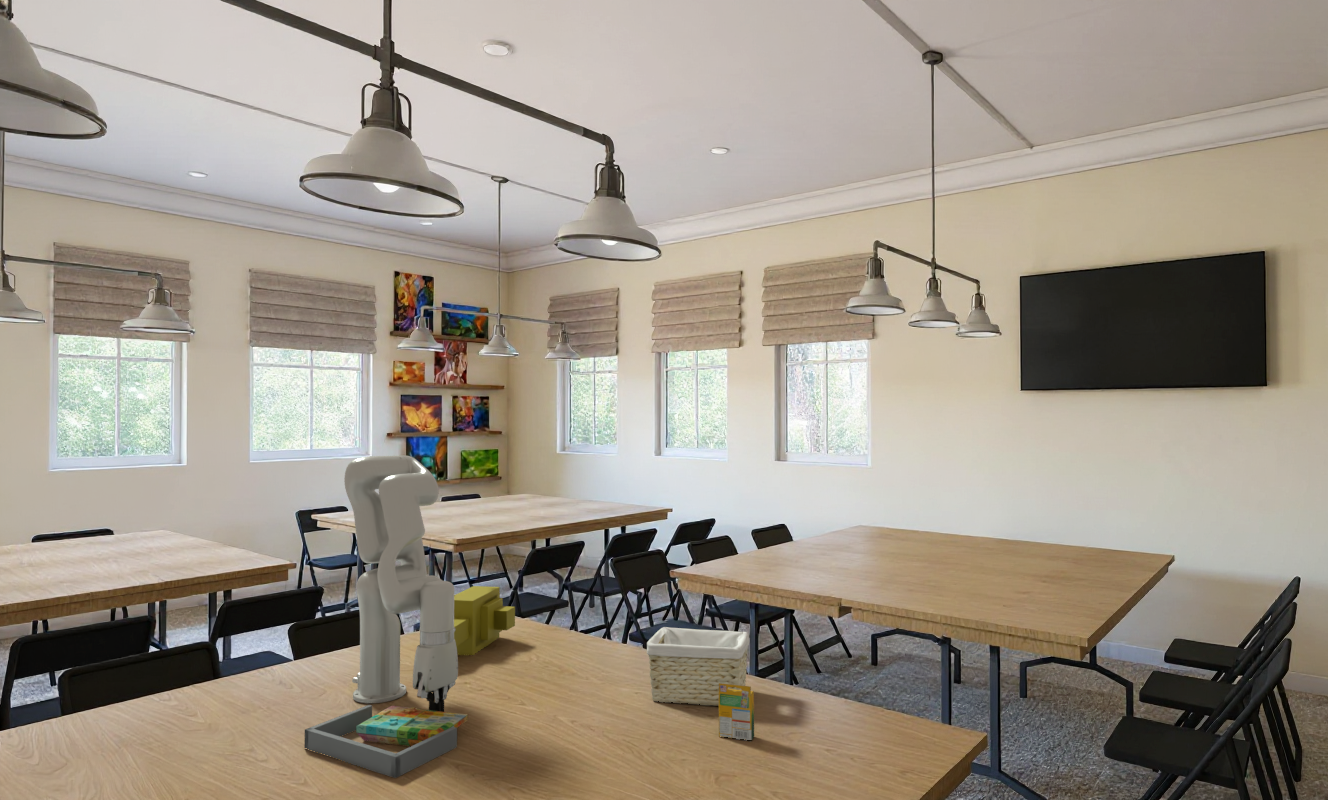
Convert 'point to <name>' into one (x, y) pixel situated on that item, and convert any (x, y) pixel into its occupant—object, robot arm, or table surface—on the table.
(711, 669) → the storage basket
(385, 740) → the puzzle game
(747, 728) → the crayon box
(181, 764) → the table surface
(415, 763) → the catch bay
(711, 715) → the table surface
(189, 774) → the table surface
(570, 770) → the table surface
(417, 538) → the robot arm
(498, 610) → the toy blocks
